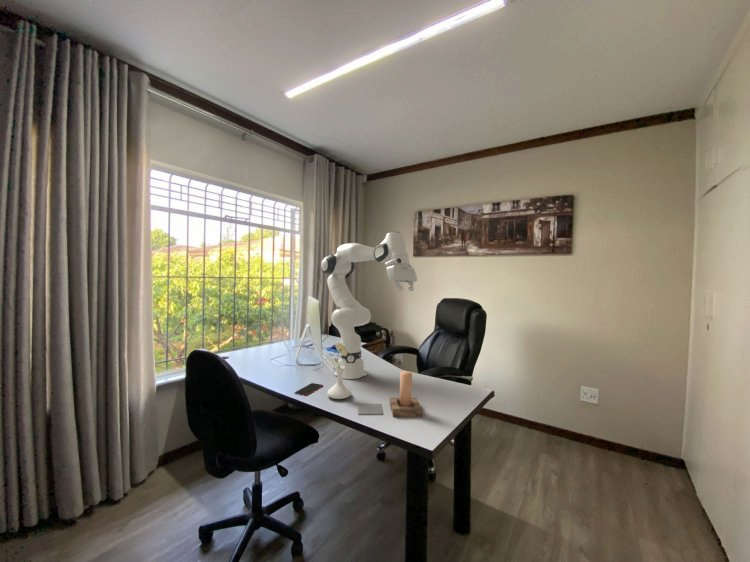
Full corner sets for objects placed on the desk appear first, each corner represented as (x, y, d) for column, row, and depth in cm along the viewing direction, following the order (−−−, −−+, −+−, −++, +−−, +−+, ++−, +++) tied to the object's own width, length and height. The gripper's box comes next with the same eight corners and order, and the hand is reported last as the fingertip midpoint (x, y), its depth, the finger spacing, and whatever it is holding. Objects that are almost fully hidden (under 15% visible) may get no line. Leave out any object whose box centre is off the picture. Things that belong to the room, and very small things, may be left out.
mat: (358, 404, 133) (358, 403, 133) (380, 404, 134) (380, 403, 134) (358, 414, 123) (358, 413, 123) (382, 414, 124) (382, 413, 124)
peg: (398, 407, 131) (399, 371, 130) (409, 407, 131) (410, 371, 131) (400, 412, 126) (401, 374, 125) (412, 412, 126) (413, 374, 126)
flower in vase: (354, 399, 138) (355, 345, 138) (330, 402, 134) (331, 346, 134) (346, 389, 151) (347, 339, 150) (323, 392, 146) (325, 341, 146)
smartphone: (293, 392, 144) (311, 382, 158) (293, 394, 144) (311, 384, 158) (306, 395, 141) (323, 384, 155) (306, 397, 141) (323, 386, 155)
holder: (389, 404, 134) (389, 397, 134) (416, 404, 135) (416, 397, 135) (393, 416, 122) (393, 409, 122) (422, 416, 123) (422, 409, 123)
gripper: (406, 266, 156) (412, 292, 154) (382, 263, 140) (388, 291, 138) (416, 263, 153) (422, 289, 150) (393, 258, 137) (399, 288, 134)
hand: (406, 290), depth 144 cm, fingers open, 8 cm apart
